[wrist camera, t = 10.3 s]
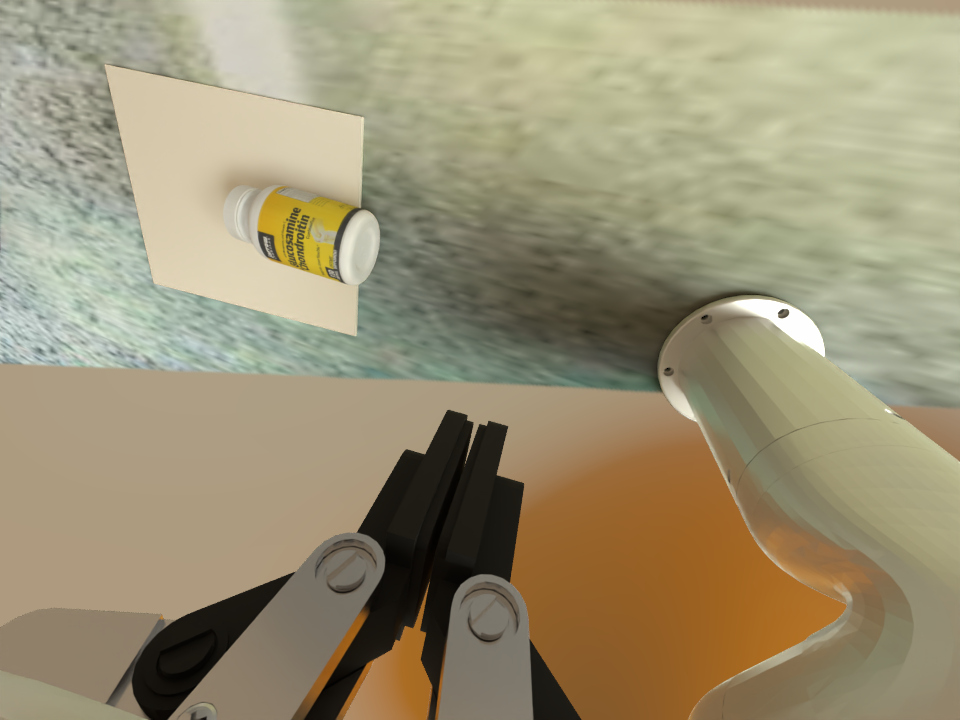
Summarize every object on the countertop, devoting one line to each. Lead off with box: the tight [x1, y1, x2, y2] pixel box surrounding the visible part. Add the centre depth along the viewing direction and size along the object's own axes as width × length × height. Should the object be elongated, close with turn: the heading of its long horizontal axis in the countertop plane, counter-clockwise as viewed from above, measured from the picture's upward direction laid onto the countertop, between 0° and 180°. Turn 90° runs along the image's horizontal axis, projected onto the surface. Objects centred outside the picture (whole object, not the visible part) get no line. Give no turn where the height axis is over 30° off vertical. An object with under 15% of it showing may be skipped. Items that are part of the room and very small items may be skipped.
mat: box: [104, 64, 364, 336], centre depth 38 cm, size 24×20×1 cm
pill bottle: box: [223, 185, 380, 285], centre depth 34 cm, size 6×6×12 cm
